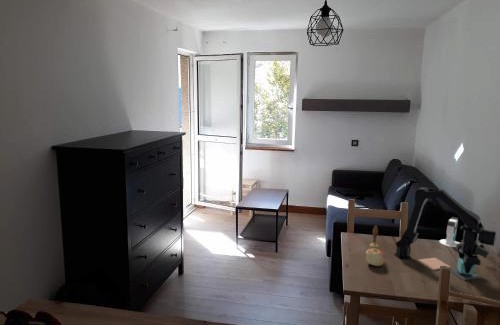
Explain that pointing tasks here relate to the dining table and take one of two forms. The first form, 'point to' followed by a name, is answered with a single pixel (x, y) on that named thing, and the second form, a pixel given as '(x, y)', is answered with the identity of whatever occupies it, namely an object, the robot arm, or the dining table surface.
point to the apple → (375, 257)
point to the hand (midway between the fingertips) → (465, 270)
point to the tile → (433, 263)
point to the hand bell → (374, 240)
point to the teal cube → (462, 268)
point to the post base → (465, 275)
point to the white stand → (451, 233)
